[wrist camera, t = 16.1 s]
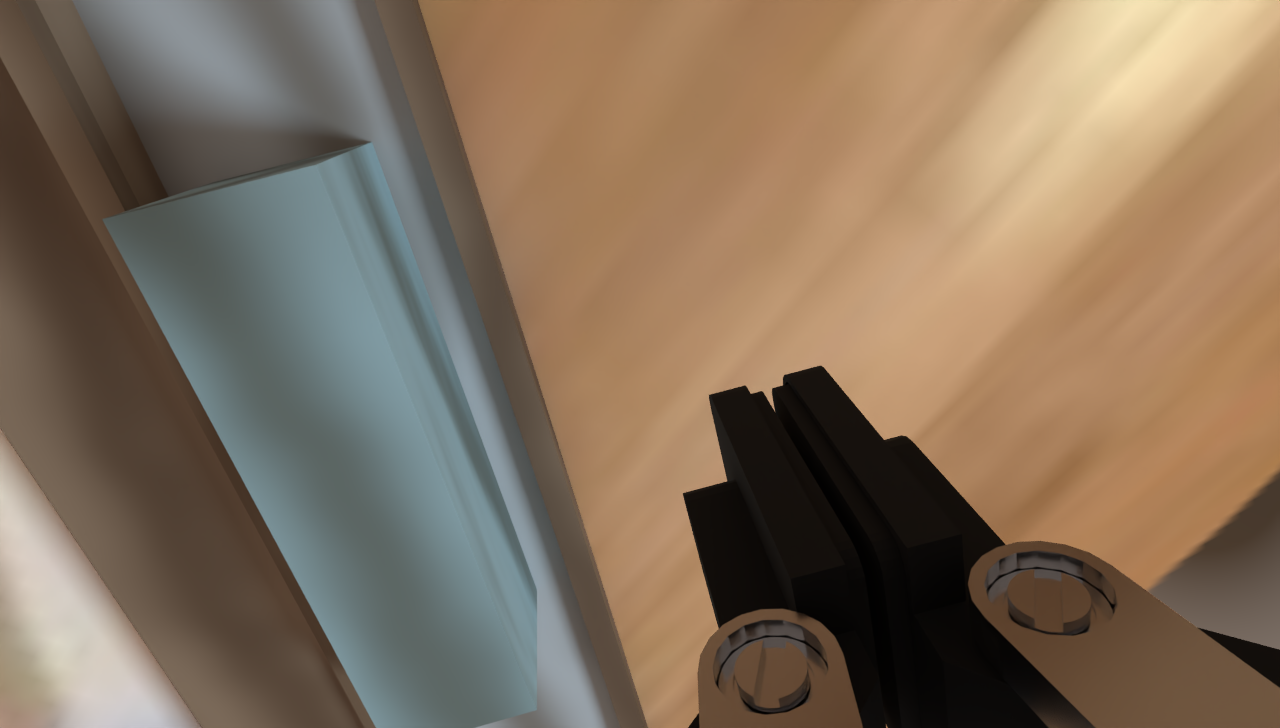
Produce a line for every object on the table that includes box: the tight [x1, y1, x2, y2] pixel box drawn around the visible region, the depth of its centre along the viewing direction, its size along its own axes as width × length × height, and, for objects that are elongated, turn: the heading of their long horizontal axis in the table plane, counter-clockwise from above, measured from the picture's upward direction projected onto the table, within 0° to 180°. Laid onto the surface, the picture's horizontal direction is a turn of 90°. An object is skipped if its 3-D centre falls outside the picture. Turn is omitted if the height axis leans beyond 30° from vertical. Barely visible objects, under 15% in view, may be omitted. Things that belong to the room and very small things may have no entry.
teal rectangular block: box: [102, 142, 537, 728], centre depth 23 cm, size 5×18×6 cm, turn 13°
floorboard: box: [0, 0, 648, 728], centre depth 24 cm, size 16×38×3 cm, turn 13°
